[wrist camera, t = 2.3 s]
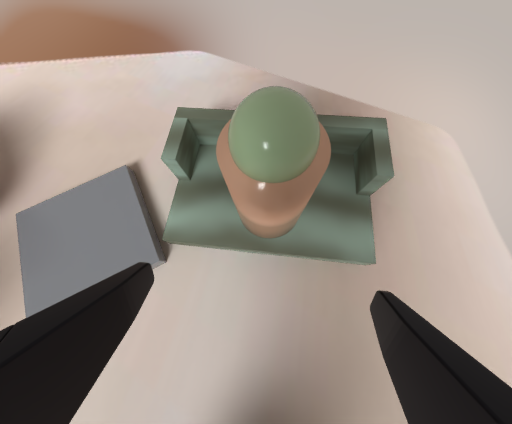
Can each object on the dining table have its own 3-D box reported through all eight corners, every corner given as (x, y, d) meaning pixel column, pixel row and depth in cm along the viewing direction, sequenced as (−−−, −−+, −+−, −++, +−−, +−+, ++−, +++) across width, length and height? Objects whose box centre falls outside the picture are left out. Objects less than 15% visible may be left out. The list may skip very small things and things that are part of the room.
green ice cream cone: (302, 237, 19) (369, 163, 7) (237, 239, 19) (191, 168, 7) (297, 180, 21) (341, 46, 9) (239, 182, 21) (206, 53, 9)
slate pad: (166, 262, 21) (159, 260, 19) (44, 326, 19) (27, 329, 18) (133, 171, 25) (125, 164, 23) (30, 218, 23) (15, 214, 22)
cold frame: (365, 265, 20) (405, 259, 14) (170, 243, 21) (137, 230, 16) (357, 156, 24) (386, 118, 18) (196, 144, 26) (177, 107, 20)
